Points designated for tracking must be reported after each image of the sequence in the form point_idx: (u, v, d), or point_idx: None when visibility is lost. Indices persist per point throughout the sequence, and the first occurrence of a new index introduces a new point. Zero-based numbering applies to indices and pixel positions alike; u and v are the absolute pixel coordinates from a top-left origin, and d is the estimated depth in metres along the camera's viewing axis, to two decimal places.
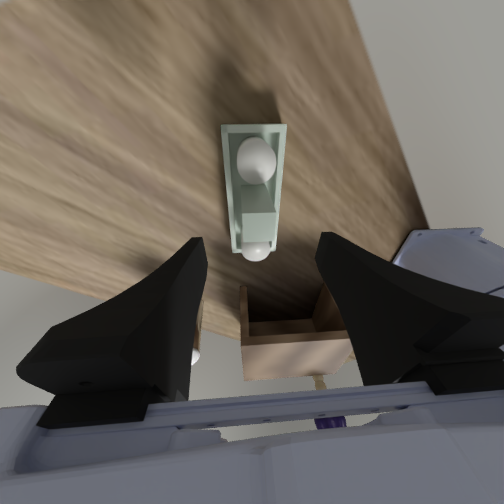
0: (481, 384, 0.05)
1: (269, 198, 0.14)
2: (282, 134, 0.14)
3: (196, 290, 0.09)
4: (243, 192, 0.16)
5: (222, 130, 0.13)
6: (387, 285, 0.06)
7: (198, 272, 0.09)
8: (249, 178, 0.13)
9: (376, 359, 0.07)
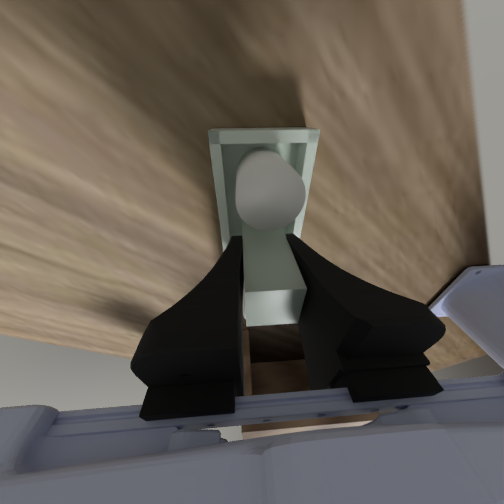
0: (395, 392, 0.05)
1: (288, 248, 0.09)
2: (311, 146, 0.08)
3: (242, 288, 0.09)
4: (246, 233, 0.10)
5: (211, 139, 0.08)
6: (320, 289, 0.06)
7: (242, 270, 0.09)
8: (257, 222, 0.08)
9: (316, 364, 0.07)
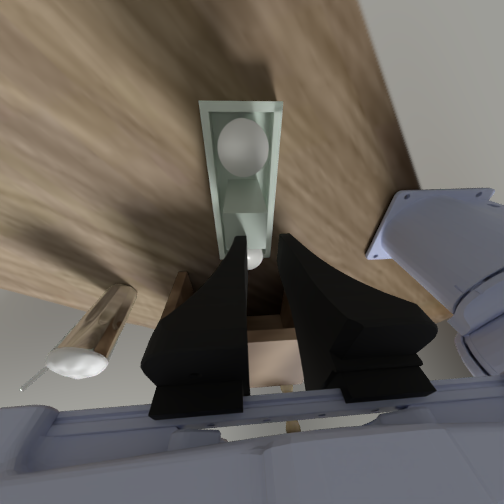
0: (387, 392, 0.05)
1: (261, 195, 0.12)
2: (277, 114, 0.11)
3: (246, 287, 0.09)
4: (229, 187, 0.13)
5: (201, 107, 0.11)
6: (315, 289, 0.06)
7: (246, 270, 0.09)
8: (234, 169, 0.10)
9: (311, 364, 0.07)
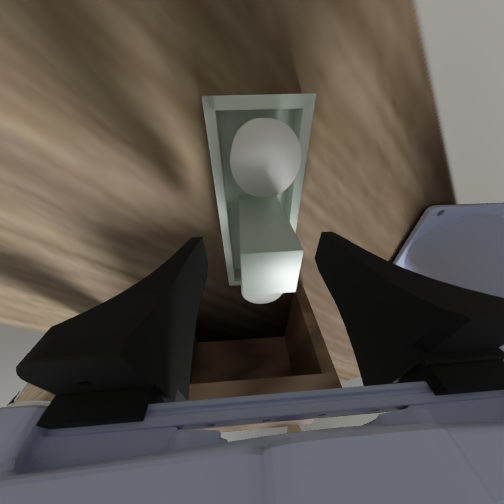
0: (481, 384, 0.05)
1: (286, 218, 0.09)
2: (307, 112, 0.08)
3: (196, 290, 0.09)
4: (243, 207, 0.10)
5: (205, 105, 0.08)
6: (387, 285, 0.06)
7: (198, 272, 0.09)
8: (253, 188, 0.08)
9: (376, 359, 0.07)
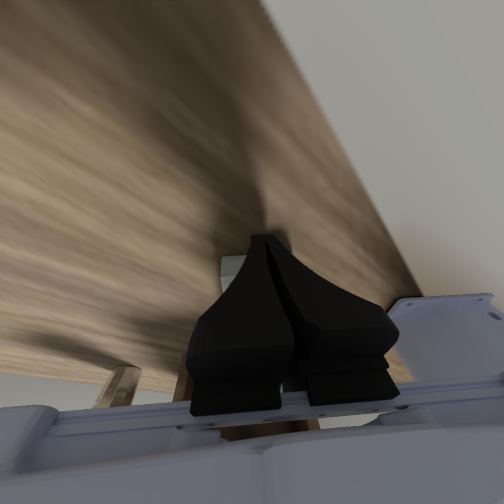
0: (351, 396, 0.04)
1: None
2: None
3: None
4: None
5: (222, 280, 0.11)
6: (286, 291, 0.06)
7: None
8: None
9: None
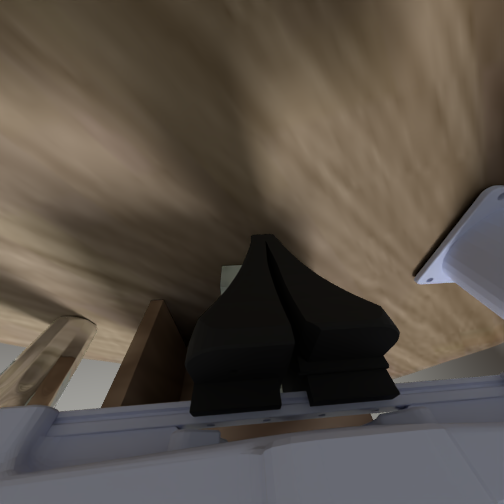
0: (350, 396, 0.04)
1: None
2: None
3: None
4: None
5: (222, 290, 0.12)
6: (286, 290, 0.06)
7: None
8: None
9: None
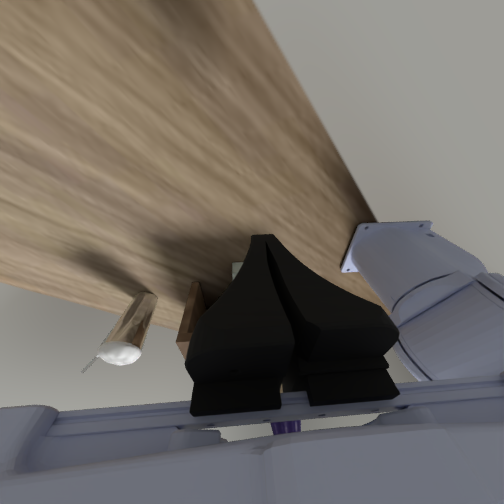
0: (351, 396, 0.04)
1: None
2: None
3: None
4: None
5: (233, 274, 0.23)
6: (286, 290, 0.06)
7: None
8: None
9: None
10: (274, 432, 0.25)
